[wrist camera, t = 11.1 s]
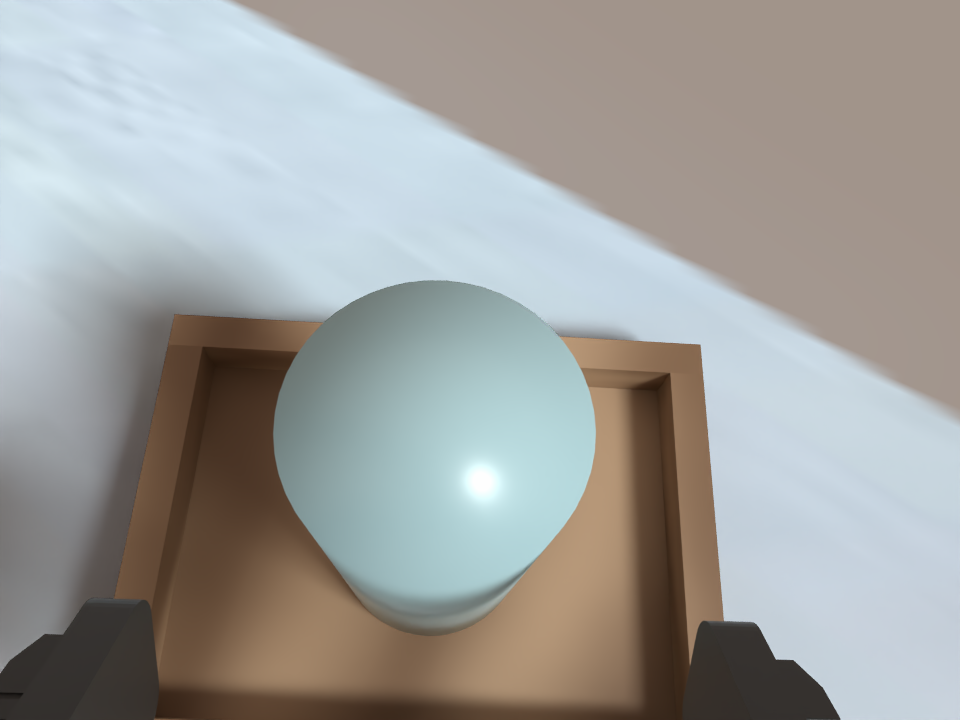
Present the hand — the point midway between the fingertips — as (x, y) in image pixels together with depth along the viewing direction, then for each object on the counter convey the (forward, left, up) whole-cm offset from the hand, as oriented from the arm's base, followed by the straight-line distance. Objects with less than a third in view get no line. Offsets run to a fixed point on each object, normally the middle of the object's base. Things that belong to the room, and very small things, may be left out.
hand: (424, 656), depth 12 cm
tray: (0, +4, -12) cm, 12 cm away
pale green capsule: (0, +4, -11) cm, 11 cm away
